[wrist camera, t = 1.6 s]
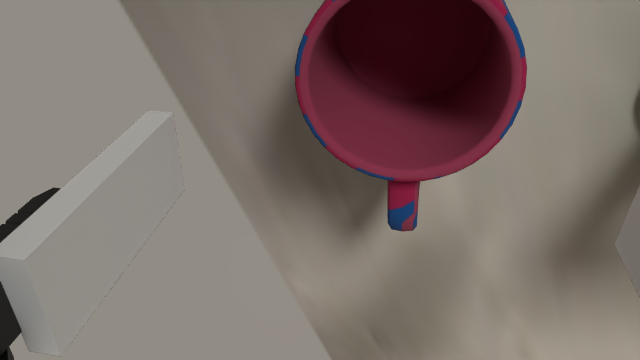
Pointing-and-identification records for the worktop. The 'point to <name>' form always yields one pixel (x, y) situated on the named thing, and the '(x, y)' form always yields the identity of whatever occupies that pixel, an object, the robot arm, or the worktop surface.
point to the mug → (410, 88)
